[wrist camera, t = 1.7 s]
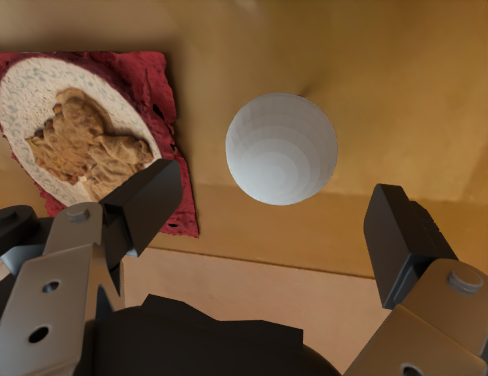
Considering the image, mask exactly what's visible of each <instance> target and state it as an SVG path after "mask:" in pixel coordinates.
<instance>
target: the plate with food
mask: <svg viewBox="0 0 488 376" xmlns="http://www.w3.org/2000/svg"><path fill="white" fill-rule="evenodd" d="M166 63H167V62H166V60H165V57H164V54H162V53H160V52H154V51H134V52H130V53H125V54H115V53H114V52H113V51H104V52H103V51H100V52H54V53H40V52H17V53H15V52H13V53H0V130H1V131H2V132H3V133H4V135H3V137H4V138H6V139H7V141H8V142H10V143H9V144H10V147H11V148H10V149H12V150H13V153H12V155H13V156H12V157H11V158H14V159H15V160H17V162H18V161H19V162H18V163H21V167H22V168H24V169H25V171H26V173H27V174H28V176H29V175H30V177H31V178H32V179H33V180H34V181H35V183H34V184H35V185H37V187H38V188H39V190H40V197H43V198H45V199H47V201H46V204H45V207H46V208H47V211H48V214H49V215H50V216H51V217H55V216H56V215H57V214H58V213H59V212H60V211H62V210H63V209H65V208H67V207H69V206H72V205H74V204H78V203H82V202H99V201H100V200H101V199H103V198H104V197H105V196H106V195H108V194H109V193H110V192H112V191H113V190H114V189H115V188H117V187H118V186H121V184H122V183H123V182H124V181H126V180H128V178H129V177H131V176H132V175H133V174H135V173H136V172H138V171H141V170H143V169H145V168H147V167H148V166H150V165H151V164H152V163H153V162H154V161H156V160H157V159H159V158H162V159H171V160H176V161H177V162H178V163H179V167H180V174H181V181H182V188H183V198H182V201H181V203H180V205H179V206H178V208H177V209H176V210H175V211H174V213H173V214H172V215H171V216H170V218H169V219H168V220H167V222H166V223H165V224H164V225H163V227H162V228H161V229H160V230H159V232H162V233H167V234H172V235H177V234H178V235H187V236H193V237H194V238H199V237H198V230H197V221H196V220H195V216H194V215H195V209H194V202H193V199H192V192H191V188H190V181H189V174H188V168H187V165H186V164H187V163H186V162H185V160H184V158H183V157H182V155H180V153H179V151H178V149H177V148H176V147H174V151H173V149H172V147H170V145H169V144H171V143H172V144H175V142H174V139H173V138H172V137H171V136H172V135H173V134H174V130H173V127H172V126H170V124H169V123H172V122H174V121H177V117H176V110H175V103H174V99H173V92H172V89H171V88H170V87H169V85H168V83H167V78H166V77H165V75H164V70H165V66H166ZM153 104H156V105H157V106H158V107H159V108H160V111H161V112H162V113H163V116H164V117H165V119H164V121H163V119H161V118H160V117H159V116H158V115H156V113H155V112H154V111H153ZM165 120H166V121H165ZM167 121H168V122H169V123H167ZM170 135H171V136H170ZM167 224H177V225H178V227H170V226H169V225H167Z"/></svg>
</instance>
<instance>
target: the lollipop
mask: <svg viewBox="0 0 488 376" xmlns="http://www.w3.org/2000/svg"><path fill="white" fill-rule="evenodd" d="M225 148H226V155H227V163H228V166H229V169H230V172H231V174H232V176H233V178H234V179H235V181H236V183H237V184H238V185H239V186H240V188H241V189H242V190H243V191H245V192H246V193H247V194H248V195H250V196H251V197H253V198H254V199H256V200H259V201H261V202H264V203H268V204H272V205H289V204H293V203H297V202H300V201H302V200H304V199H307V198H309V197H311V196H313V195H314V194H316V193H317V192H319V191H320V190H321V189H322V188H323V187H324V186H325V185H326V184H327V183H328V181H329V179H330V178H331V176H332V174H333V172H334V169H335V166H336V162H337V152H338V146H337V137H336V134H335V131H334V128H333V126H332V124H331V122H330V121H329V119H328V117H327V116H326V114H325V113H324V112H323V111H322V110H321V109H320V108H319V107H318V106H317V105H315V104H314V103H312V102H311V101H309V100H307V99H305V98H302V97H300V96H298V95H294V94H289V93H269V94H265V95H261V96H259V97H257V98H254V99H252V100H251V101H249V102H248V103H247V104H245V105H244V106H243V107H242V108H241V109H240V110H239V111H238V113H237V114H236V115H235V117H234V119H233V121H232V123H231V125H230V127H229V129H228V133H227V136H226V147H225Z"/></svg>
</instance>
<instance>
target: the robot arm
mask: <svg viewBox="0 0 488 376" xmlns="http://www.w3.org/2000/svg"><path fill="white" fill-rule="evenodd" d="M182 198H183V188H182V181H181V174H180V167H179V163H178V162H177V161H176V160H171V159H162V158H159V159H157V160H156V161H154V162H153V163H152V164H151V165H150V166H148V167H147V168H145V169H143V170H141V171H138V172H136V173H135V174H133V175H132V176H131V177H129V178H128V180H126V181H124V182H123V183H122V184H121V186H118V187H117V188H115V189H114V190H113V191H112V192H110V193H109V194H108V195H106V196H105V197H104V198H103V199H101V200H100V201H99V202H82V203H78V204H74V205H72V206H69V207H67V208H65V209H63V210H62V211H60V212H59V213H58V214H57V215H56V216H55V217H47V218H38V217H37V215H36V213H35V212H34V210H33V208H32V207H31V206H27V205H17V206H11V207H7V208H4V209H1V210H0V259H1V260H2V262H3V263H4V265H5V266H6V267H7V269H8V270H9V271H10V273H9V274H8V275H7V276H6V277H4V278H3V279H2V280H1V281H0V376H342V375H341V374H340V373H339V371H338V370H337V369H336V368H335V367H334V366H333V365H332V364H331V363H330V362H329V361H327V360H326V359H325V358H324V357H323V356H321V355H320V354H319V353H317V352H316V351H314V350H313V349H312V348H310V347H308V346H306V345H304V344H303V330H302V329H298V328H294V327H289V326H285V325H281V324H277V323H272V322H268V321H264V320H243V321H218V320H215V319H213V318H211V317H210V316H208V315H206V314H204V313H202V312H201V311H199V310H197V309H195V308H193V307H192V306H190V305H188V304H186V303H185V302H182V301H178V300H173V299H169V298H165V297H160V296H156V295H152V294H148V296H147V298H146V299H145V301H144V302H143V304H142V305H141V306H134V307H128V308H125V295H124V269H123V262H122V258H123V257H124V256H125V255H129V256H134V257H139V256H140V255H141V253H142V252H143V251H144V249H145V248H146V247H147V246H148V244H149V243H150V242H151V241H152V239H153V238H154V237H155V235H156V234H157V233H158V232H159V230H160V229H161V228H162V227H163V225H164V224H165V223H166V222H167V220H168V219H169V218H170V216H171V215H172V214H173V213H174V211H175V210H176V209H177V208H178V206H179V205H180V203H181V201H182ZM364 235H365V239H366V243H367V247H368V251H369V255H370V259H371V263H372V267H373V271H374V275H375V279H376V283H377V287H378V291H379V295H380V299H381V303H382V307H383V308H385V309H390V310H392V312H391V313H390V314H389V315H388V317H387V318H386V319H385V321H384V322H383V323H382V325H381V326H380V327H379V329H378V330H377V331H376V333H375V334H374V335H373V336H372V338H371V339H370V340H369V342H368V343H367V344H366V346H365V347H364V348H363V350H362V351H361V352H360V354H359V355H358V356H357V357H356V359H355V360H354V361H353V363H352V364H351V365H350V367H349V368H348V369H347V371H346V372H345V373H344V375H343V376H488V276H487V275H485V274H484V273H483V272H481V271H480V270H478V269H476V268H474V267H473V266H471V265H468V264H466V263H463V262H461V261H459V260H458V258H457V257H456V255H455V253H454V252H453V250H452V249H451V247H450V246H449V244H448V242H447V241H446V239H445V238H444V236H443V235H442V233H441V232H439V228H438V227H437V225H436V224H435V223H434V220H433V219H432V217H431V216H430V214H429V213H428V211H427V210H426V209H424V208H423V207H422V206H421V205H419V204H418V203H417V202H416V201H409V199H408V197H407V195H406V194H405V192H404V190H403V188H402V187H401V186H396V185H387V184H377V185H376V186H375V188H374V191H373V194H372V197H371V200H370V203H369V206H368V209H367V212H366V215H365V219H364Z"/></svg>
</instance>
